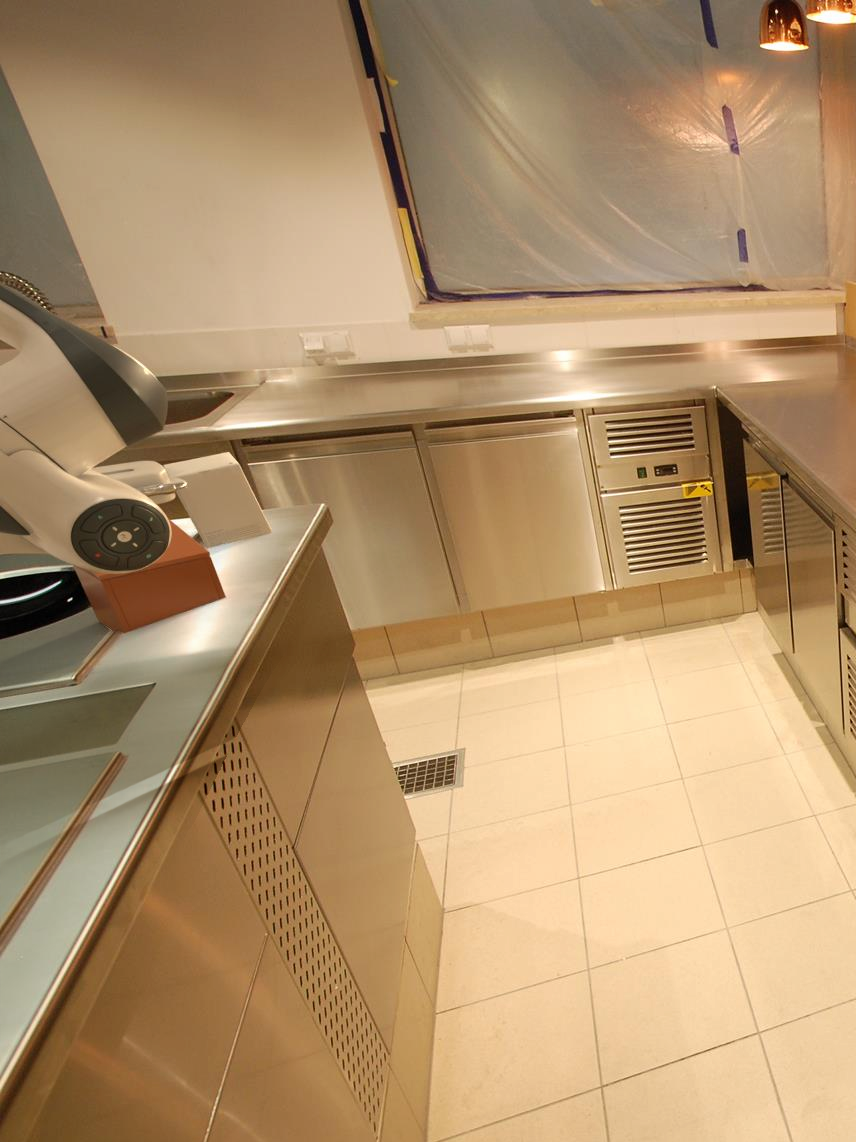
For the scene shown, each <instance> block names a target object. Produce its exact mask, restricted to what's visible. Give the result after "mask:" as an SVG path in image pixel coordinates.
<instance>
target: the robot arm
mask: <svg viewBox="0 0 856 1142" xmlns="http://www.w3.org/2000/svg"><path fill="white" fill-rule="evenodd" d="M0 341H1V342H4V343H5V344H7V345H9V346H11V347H12V348H14V349H15V350H17V351H19V352H18V354H17V355H16V356H15V357H14V358H12V359H11V360H9V361H7V362H5V363H3V364H1V365H0V556H10V555H19V554H23V555H25V554H29V555H30V554H31V555H32V554H33V555H34V554H35V555H51V556H52V557H55V559H58V560H60V561H61V562H64V563H66V564H69V565H71V566H73V565H74V566H76V567H79V568H82V569H86V570H89V571H94V572H99V573H105V574H123V573H129V572H133V571H137V570H140V569H143V568H145V567H147V566H149V565H151V564H153V563H154V562H156V561H157V560H158V559H159V558H160V557H161V556H162V555H163V554H164V553H165V552H166V550H167V548H168V546H169V544H170V541H171V536H172V530H171V525H170V522H169V520H170V519H169V518H168V516H167V515H166V513H165V512H164V511H163V509H162V508H161V507H160V506H159V505H161V504H165V503H168V502H171V501H173V500H174V499H175V498H176V490H180V489H186V488H187V483H186V482H185V480H182V479H180V478H169V477H168V474H167V472H166V469H165V468H164V466H163V465H162V464H160V463H159V462H157V461H155V460H137V461H131V462H124V463H123V462H122V463H117V464H109V465H101V466H97V465H99V464H100V463H103V462H104V461H105V460H107V459H109V458H110V457H112V456H113V455H115V454H116V453H118V452H120V451H121V450H123V449H125V448H130V447H133V446H135V445H137V444H138V443H140V442H142V441H144V440H146V439H148V438H150V437H153V436H154V435H156V434H158V433H160V432H162V431H164V428H165V426H166V421H167V417H168V408H169V398H168V391H167V389H166V388H165V386H164V385H163V384H162V383H161V382H160V380H158V378H157V377H156V376H155V375H154V373H153V372H152V371H151V370H150V369H148V368H147V367H146V366H145V365H144V364H143V363H142V362H140V360H138V359H136V358H135V357H133V356H132V355H130V354H129V353H128V352H126V351H124V350H123V349H121V348H119V347H117V346H115V345H114V344H110V343H109V342H107V341H106V340H103V339H102V338H100V337H98V336H96V335H94V334H93V333H91V332H89V331H87V330H85V329H83V328H81V327H79V326H78V325H76V324H74V323H72V322H70V321H68V320H66V319H64V318H62V317H60V316H58V315H56V314H55V313H54V312H52V311H51V310H49V309H47V308H46V307H43V306H42V305H40V304H39V303H37V302H35V301H34V300H32V299H30V298H28V297H27V296H26V295H24V294H22V293H21V292H19V291H17V290H16V289H14V288H12V287H10V286H9V285H7V284H5V283H3V281H0Z"/></svg>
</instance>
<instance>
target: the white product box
mask: <svg viewBox="0 0 856 1142" xmlns="http://www.w3.org/2000/svg"><path fill="white" fill-rule="evenodd" d="M162 466H163V467H164V468H165V469H166V472H167V474H168V477H169V478H180V479H182V480H185V482H186V483H187V488H186V489H180V490H176V492H175V494H176V496H178V498H179V500H180V502H181V504H182V506H183V508H184V510H185V511H186V513H187V515H188V517H189V519H190V521H191V522H192V524H193V526H194V529H196V532H197V533H198V535H199V537H200V539H201V540H202V542H203V544H204V545H205V547H206V548H207V549H211V548H214V547H219V546H223V545H226V544H231V543H235V542H239V541H243V540H247V539H250V538H255V537H259V536H262V535H267V534H271V533H273V530H272V528H271V525H270V524H269V521H268V520H267V518H266V516H265V514H264V512H263V510H262V508H261V505H260V503H259V501H258V500H257V498H256V495H255V493H254V491H253V489H252V487H251V484H250V483H249V481H248V479H247V477H246V475H245V473H244V471H243V468H242V466H241V464H240V463H239V462H238V461H237V460H236V459H235V458H234V456H233V455H232V454H231V452H229V451H227V452H221V453H217V454H211V455H207V456H201V457H198V458H192V459H187V460H182V461H177V462H172V463H167V464H163V465H162Z"/></svg>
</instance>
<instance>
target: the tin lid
mask: <svg viewBox="0 0 856 1142" xmlns="http://www.w3.org/2000/svg"><path fill="white" fill-rule="evenodd" d="M168 520H169V522H170V525H171V530H172V536H171V541H170V544H169V546H168V548H167V550H166V552H165V553H164V554H163V555H162V556H161V557H160V558H159V559H158V560H157V561H156V562H154V563H153V564H151V565H149V566H147V567H145V568H143V569H140V570H137V571H133V572H129V573H123V574H105V573H99V572H94V571H91V572H92V573H93V574H94V575H95V576H96V577H97V578H99V579H100V580H105V579H110V578H114V577H119V576H123V575H128V574H132V573H137V572H141V571H145V570H150V569H154V568H159V567H163V566H168V565H172V564H177V563H181V562H186V561H190V560H195V559H199V558H204V557H208V556H210V557H211V554H210V551H209V550H208V549H206V548H205V547H204V546H203V545H201V544H200V543H199V542H198V541H196V539H194V538H193V537H192V536H190V535H189V534H188V533H187V532H185V531H184V530H183V529H182V528H181V527H180V526H178V525H177V524H176V523H175V522H173V520H171V519H168Z"/></svg>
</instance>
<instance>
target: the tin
mask: <svg viewBox="0 0 856 1142" xmlns="http://www.w3.org/2000/svg"><path fill="white" fill-rule="evenodd" d="M72 566H73V569H74V571H75V573H76V575H77V577H78V580H79V583H81V586H82V589H83V590H84V593H85V595H86V598H87V599H88V602H89V604H90V606H91V608H92V611H93V613H94V615H95V617H96V619H97V622H98V621H99V622H100V623H99V622H98V623H99V624H101V623H102V624H103V625H105V626H107V627H108V628H110V629H111V630H112V631H111V630H110V631H111V632H115V631H117V630H118V631H120V632H121V633H123V634H127V633H129V632H132V631H135V630H137V629H140V628H144V627H146V626H149V625H151V624H155V623H157V622H160V621H163V620H167V619H168V618H171V617H174V616H178V615H180V614H184V613H186V612H188V611H191V610H194V609H197V608H200V607H202V606H205V605H208V604H211V603H215V602H217V601H219V600H222V599H225V598H226V597H227V596H226V594H225V591H224V588H223V586H222V583H221V580H220V578H219V575H218V572H217V570H216V568H215V565H214V562H213V559H212V557H211V555H210V556H208V557H204V558H199V559H195V560H190V561H186V562H181V563H177V564H172V565H168V566H163V567H159V568H154V569H150V570H145V571H141V572H137V573H132V574H128V575H123V576H119V577H114V578H110V579H105V580H100V579H99V578H97V577H96V576H95V575H94V574H93V573H92V572H91V571H89V570H86V569H82V568H79V567H76V566H74V565H72ZM102 624H101V625H102ZM103 625H102V626H103ZM105 626H104V627H105ZM108 628H107V629H108Z"/></svg>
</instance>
